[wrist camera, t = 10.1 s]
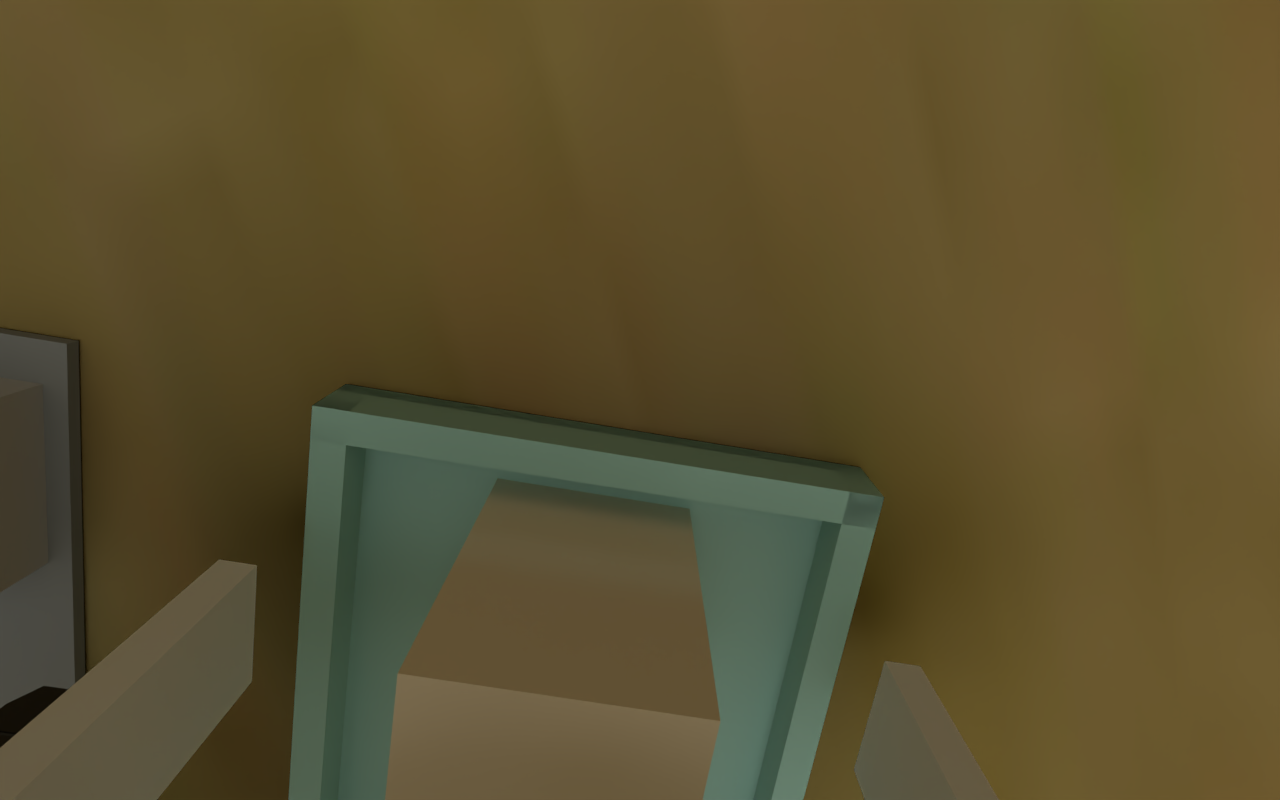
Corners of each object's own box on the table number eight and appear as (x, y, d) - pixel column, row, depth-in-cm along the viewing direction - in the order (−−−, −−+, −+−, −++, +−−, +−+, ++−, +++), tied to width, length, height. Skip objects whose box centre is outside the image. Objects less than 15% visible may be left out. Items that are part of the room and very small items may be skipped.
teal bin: (313, 842, 23) (282, 902, 21) (345, 383, 19) (312, 405, 17) (748, 902, 23) (758, 967, 21) (860, 467, 20) (883, 497, 18)
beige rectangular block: (475, 647, 20) (372, 928, 12) (497, 478, 19) (397, 673, 11) (656, 675, 20) (664, 968, 13) (689, 508, 19) (720, 720, 11)
